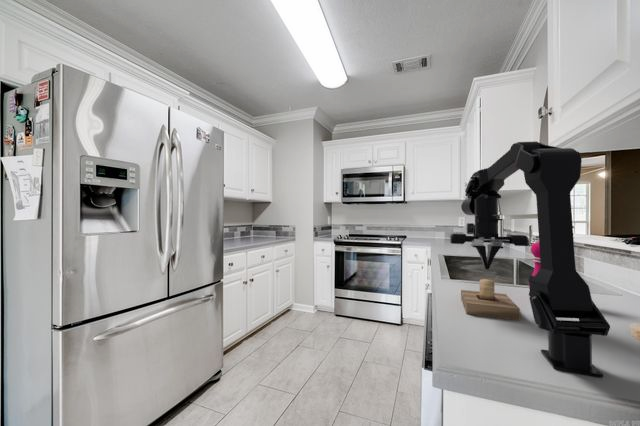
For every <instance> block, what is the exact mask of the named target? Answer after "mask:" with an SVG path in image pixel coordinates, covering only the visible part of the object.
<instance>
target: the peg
mask: <svg viewBox="0 0 640 426" xmlns="http://www.w3.org/2000/svg"><path fill="white" fill-rule="evenodd" d="M479 292H480V300H487V301H495V298H494V293H495V280H491V279H487V278H486V279H484V278H483V279H479Z"/></svg>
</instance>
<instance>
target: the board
mask: <svg viewBox="0 0 640 426" xmlns="http://www.w3.org/2000/svg"><path fill="white" fill-rule="evenodd" d="M494 298H495V301H487V300H480V290H478V291H477V290H469V289H467V290H466V289H460V300H461V303H462V305H463V308H464V311H465V313H466V315H472V316H481V317H490V318H497V319H504V320H514V321H521V316H520V315H521V309H520V307H519V306H518V305H517V304H516V303H515V302H514V301H513V300H512V299H511V298H510V296H508V294H507V293H501V292H500V293H499V292H498V293H497V292H494Z"/></svg>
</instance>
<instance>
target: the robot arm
mask: <svg viewBox="0 0 640 426" xmlns="http://www.w3.org/2000/svg"><path fill="white" fill-rule="evenodd" d="M519 170H520V171H522V173H523V175H524V181H525V184H526V185H527V186H528V188H529V189H530V190H531V191H532V192H533V194H535V197H536V211H537V214H536V215H537V226H538V230H537V231H538V242H539V247H540V263H541V268H540V270H539V271H538V273H537V274H536V275H532V274H531V275H529V277H528V287H529V286H530V287H529V292H528V296H529V302H530V306H531V311H532V316H533V319H534V323H535V324H536V325H537V326H538V328H539V329H541V330H544V331H547V334H548V335H547V338H548V340H547V342H548V343H547V344H548V345H547V347H548V350H547V349H540V353H541V354H542V356H543V357H544V358H545V359H546V361H547V362H548V363H549V364H550V366H551V367H553V369H556V370H559V371H565V372H571V373H577V374H582V375H589V376H593V377H594V376H595V377H599V378H600V377H601V378H603V377H604V373H603V372H602V371H601V370H600V369H599V368H597V366H595V365H594V363H593V350H592V349H593V343H592V342H593V341H592V339H593V335H594V336H603V337H606V336H608V334H609V331H610V329H611V325H610V324H609V322H608V320H606V318H605V316H604V315H603V314H602V312H601V311H600V310H599V308H598V307H597V305H596V304H595V302H594V301H593V299H592V294H591V291H590V287H589V284H588V283H587V282H586V280H585V279H584V278H583V277H582V276H581V275H580V274H579V272H578V270H577V267H576V256H575V255H576V253H575V252H576V251H575V243H574V242H575V241H574V229H573V227H574V226H573V214H572V202H571V201H572V200H571V192H572V190H573V189H574V188H575V186H576V185H577V183H578V182H579V180H580V179H581V175H582V155H581V153H580V152H579V151H577V150H575V148H572V147H568V148H567V147H558V146H554V145H547V144H545V143H542V142H539V141H518V142H514V143H513V144H512V145H511V146H510V148H509V150H508V151H506V152H505V153H504V154H503V155H502V156H501V157H500V158H498V159H497V160H496V161H495V162H494V163H492V164H491V165H490V166H489V167H487V168H481V169H479V170H477V171H475V172H474V173H472V175H471V176H470V178H469V181H468V183H467V185H466V187H465V191H464V192H465V196H464V197H467V198H466V199H464V200H463V201H462V203H461V206H460V207H461V208H460V209H461V210H462V213H464V214H465V215H467V216H474V223H471V222H470V223H468V222H467V223H466V233H464V232H463V233H459V232H456V233H454V232H452V233H451V234H450V235H449V243H451V244H452V245H454V244H456V245H457V244H458V245H464V244H465V243H471V244H470V246H471V247H473V248H475V249H476V250H477V252H478V254H479V257H480V260H481V262H482V265H483V268H484V270H489V269H490V267H491V265H492V263H493V260H494V259H495V257H496V255H497V253H498V252H499V250H500V249H504V248H505V247H504V246H503V244H510V245H514V246H515V247H529V246H530V238H529V237H528V236H527V235H525V234H506V236H499V199H501V198H502V195H501V194H499V193H498V192H499V191H500V190H501V189H502V188H503V187H504V186H505V180H507V178H509V177H510V176H512V175H513V174H515V173H516V172H518V171H519ZM484 243H488V244H487V246H486V245H484ZM557 318H558V319H557ZM559 319H561V320H559ZM563 319H577V320H563Z"/></svg>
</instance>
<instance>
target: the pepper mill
mask: <svg viewBox="0 0 640 426" xmlns="http://www.w3.org/2000/svg"><path fill="white" fill-rule="evenodd" d="M530 252H531V254H532V255H533V256H532V258H533V259H532V261H533V262H534V269H533V272H532V274H531V275H536V274H537V273H538V271H539V270H540V268H541V263H540V247H539V241H538V242H534V243H532V245H531V246H530ZM528 287H529V288H530V286H529V285H528Z"/></svg>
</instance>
